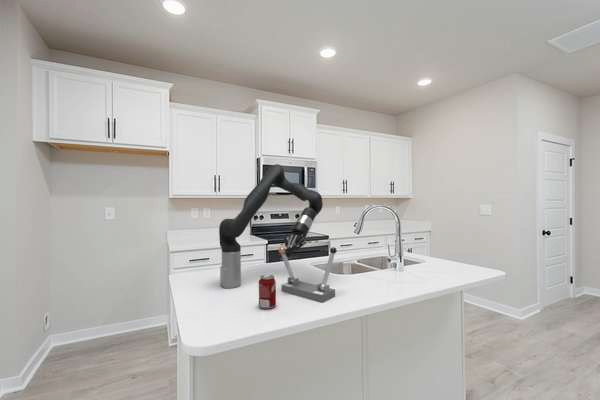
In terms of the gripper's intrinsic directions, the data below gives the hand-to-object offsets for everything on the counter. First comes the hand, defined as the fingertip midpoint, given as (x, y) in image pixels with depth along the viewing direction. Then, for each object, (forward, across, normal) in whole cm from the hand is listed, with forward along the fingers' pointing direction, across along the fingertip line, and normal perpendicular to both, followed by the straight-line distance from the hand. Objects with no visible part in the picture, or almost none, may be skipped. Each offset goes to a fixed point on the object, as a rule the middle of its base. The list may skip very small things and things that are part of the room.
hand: (286, 255), depth 128 cm
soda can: (+24, -4, 0) cm, 24 cm away
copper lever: (+6, +1, -14) cm, 15 cm away
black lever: (+7, -16, -13) cm, 22 cm away
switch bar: (+9, -8, -16) cm, 19 cm away
